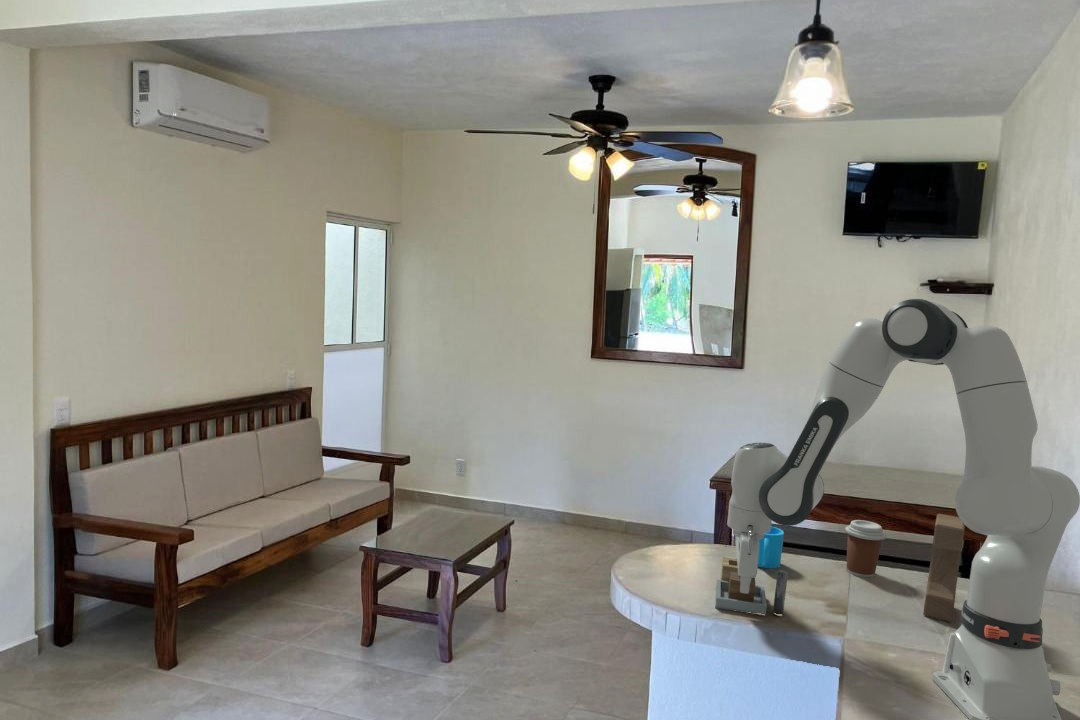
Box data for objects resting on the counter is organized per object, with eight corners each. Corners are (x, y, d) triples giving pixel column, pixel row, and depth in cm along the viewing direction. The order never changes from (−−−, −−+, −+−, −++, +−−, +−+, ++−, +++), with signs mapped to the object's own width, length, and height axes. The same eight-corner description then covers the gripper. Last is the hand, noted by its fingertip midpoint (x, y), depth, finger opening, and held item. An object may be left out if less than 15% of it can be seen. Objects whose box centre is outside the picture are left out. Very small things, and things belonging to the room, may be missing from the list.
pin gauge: (783, 617, 167) (788, 574, 166) (773, 615, 167) (778, 573, 166) (782, 613, 169) (787, 571, 168) (772, 612, 169) (777, 569, 168)
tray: (765, 616, 167) (766, 605, 166) (715, 608, 169) (716, 597, 168) (763, 596, 177) (764, 586, 177) (715, 589, 179) (716, 579, 179)
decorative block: (951, 623, 171) (964, 529, 169) (921, 616, 174) (934, 523, 172) (954, 606, 181) (966, 518, 179) (925, 600, 183) (937, 512, 181)
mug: (745, 554, 205) (748, 522, 204) (779, 559, 203) (782, 527, 203) (746, 570, 193) (749, 536, 193) (782, 575, 192) (786, 541, 191)
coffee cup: (851, 563, 205) (856, 516, 204) (887, 575, 198) (893, 526, 197) (833, 570, 199) (839, 521, 197) (870, 582, 192) (876, 532, 191)
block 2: (752, 606, 170) (755, 583, 169) (728, 602, 171) (730, 579, 170) (752, 597, 175) (754, 575, 174) (728, 594, 176) (730, 571, 175)
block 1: (748, 592, 179) (751, 569, 179) (720, 587, 181) (723, 565, 180) (747, 582, 185) (750, 561, 185) (720, 578, 186) (723, 557, 186)
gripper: (768, 535, 160) (761, 604, 161) (762, 509, 180) (756, 571, 181) (735, 531, 161) (728, 599, 162) (733, 505, 181) (727, 567, 182)
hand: (743, 584), depth 172 cm, fingers open, 8 cm apart
